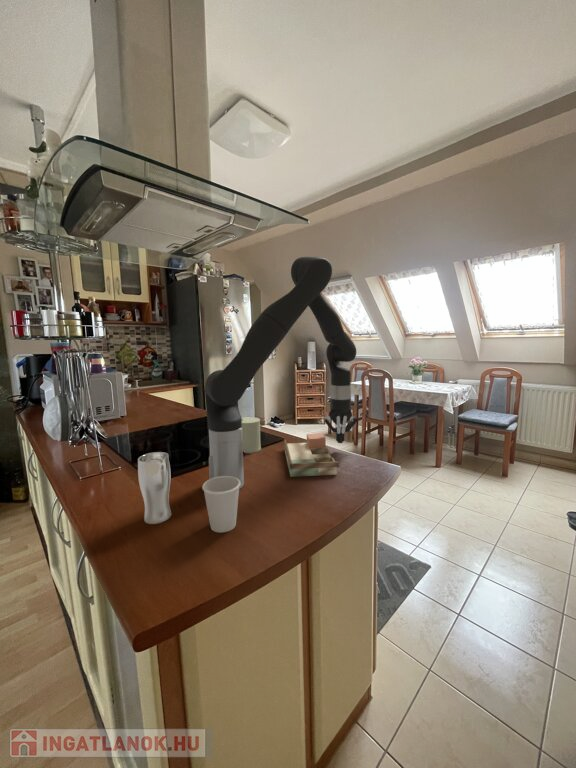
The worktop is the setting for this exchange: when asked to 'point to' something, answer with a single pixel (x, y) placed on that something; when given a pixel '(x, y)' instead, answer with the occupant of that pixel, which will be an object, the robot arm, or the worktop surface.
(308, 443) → the salmon pink square block
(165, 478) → the beer glass
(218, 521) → the dixie cup
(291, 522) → the worktop surface
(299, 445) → the board
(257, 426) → the can
